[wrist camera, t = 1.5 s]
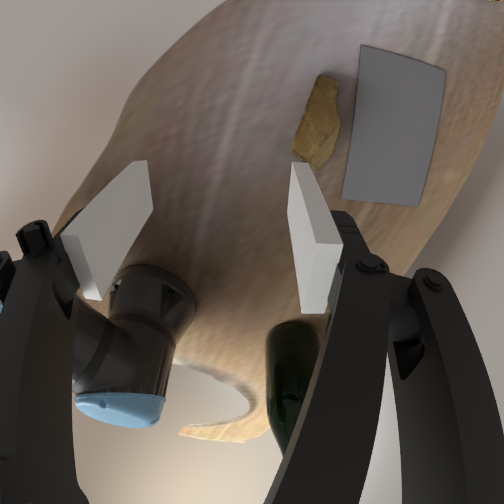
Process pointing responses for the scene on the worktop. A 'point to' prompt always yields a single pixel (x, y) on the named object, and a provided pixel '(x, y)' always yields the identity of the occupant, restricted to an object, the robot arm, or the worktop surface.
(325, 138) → the yellow wedge
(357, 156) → the mat
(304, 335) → the dark green wine bottle
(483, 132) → the worktop surface
